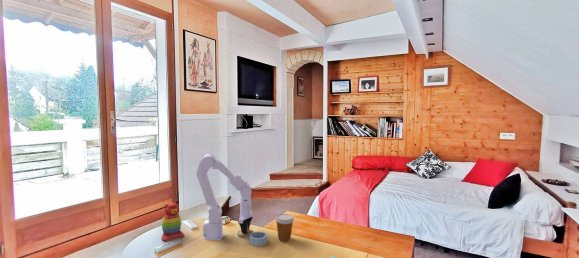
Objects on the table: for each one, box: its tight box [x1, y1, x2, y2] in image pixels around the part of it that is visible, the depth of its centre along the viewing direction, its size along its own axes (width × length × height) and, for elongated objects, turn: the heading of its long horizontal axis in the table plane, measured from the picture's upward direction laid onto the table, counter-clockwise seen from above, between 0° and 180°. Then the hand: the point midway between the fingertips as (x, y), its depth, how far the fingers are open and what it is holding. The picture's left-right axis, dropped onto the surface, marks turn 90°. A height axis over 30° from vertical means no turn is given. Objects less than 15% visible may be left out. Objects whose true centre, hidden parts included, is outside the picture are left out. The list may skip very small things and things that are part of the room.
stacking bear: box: [161, 202, 185, 243], centre depth 144 cm, size 11×10×18 cm
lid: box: [236, 226, 254, 239], centre depth 147 cm, size 9×9×4 cm
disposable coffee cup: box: [275, 213, 295, 243], centre depth 142 cm, size 10×10×12 cm
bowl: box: [249, 231, 268, 247], centre depth 138 cm, size 9×9×4 cm
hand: (245, 231), depth 147 cm, fingers open, 4 cm apart
